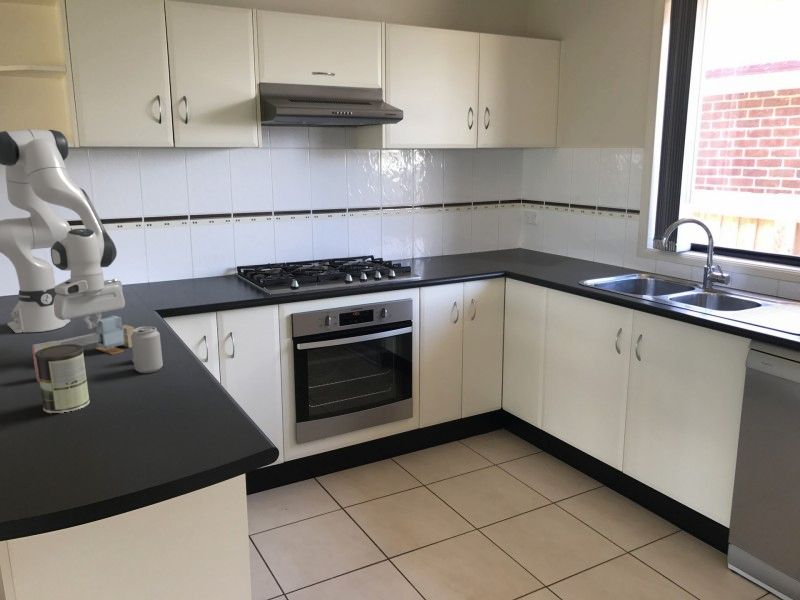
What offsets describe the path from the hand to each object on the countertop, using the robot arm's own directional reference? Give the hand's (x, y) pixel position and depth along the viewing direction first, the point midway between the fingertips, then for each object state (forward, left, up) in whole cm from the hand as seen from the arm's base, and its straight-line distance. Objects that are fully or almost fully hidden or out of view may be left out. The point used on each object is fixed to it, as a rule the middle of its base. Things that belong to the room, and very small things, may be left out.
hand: (93, 328), depth 201 cm
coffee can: (+37, -26, -8) cm, 46 cm away
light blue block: (0, +5, -6) cm, 8 cm away
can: (+28, +1, -8) cm, 29 cm away
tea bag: (+12, -19, -8) cm, 24 cm away
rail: (0, -1, -8) cm, 8 cm away
